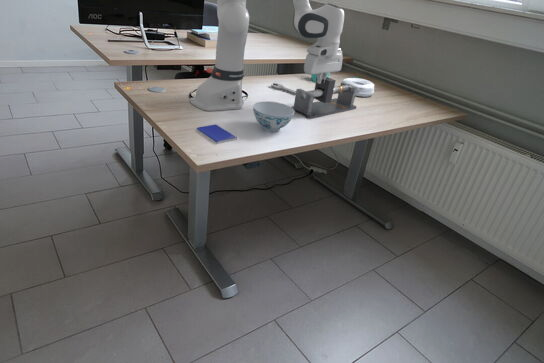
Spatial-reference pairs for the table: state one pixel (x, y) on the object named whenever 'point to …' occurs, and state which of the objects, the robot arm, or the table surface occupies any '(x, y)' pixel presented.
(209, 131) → the hard drive
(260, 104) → the chinaware
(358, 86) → the cable
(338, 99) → the pipe stand
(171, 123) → the table surface
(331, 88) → the dark grey upright block
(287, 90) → the adjustable wrench
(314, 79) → the decorative dice
